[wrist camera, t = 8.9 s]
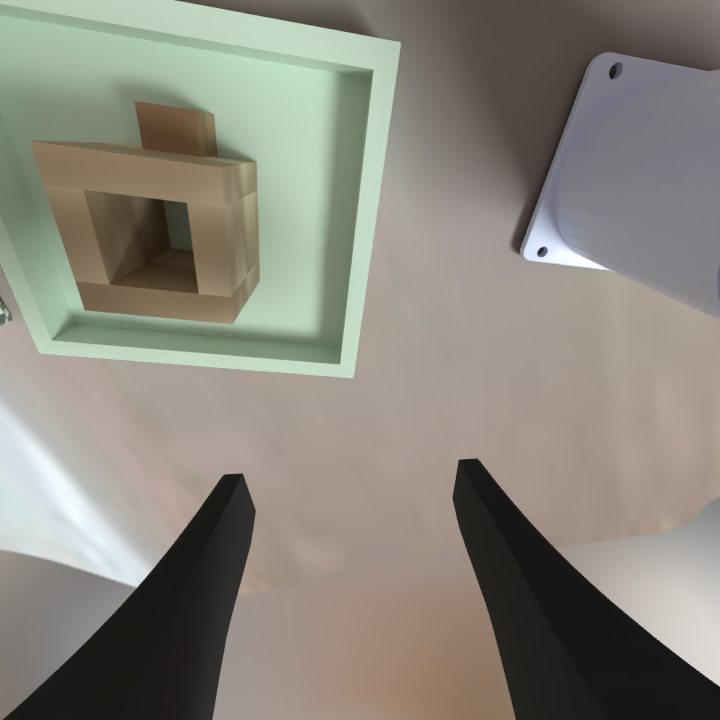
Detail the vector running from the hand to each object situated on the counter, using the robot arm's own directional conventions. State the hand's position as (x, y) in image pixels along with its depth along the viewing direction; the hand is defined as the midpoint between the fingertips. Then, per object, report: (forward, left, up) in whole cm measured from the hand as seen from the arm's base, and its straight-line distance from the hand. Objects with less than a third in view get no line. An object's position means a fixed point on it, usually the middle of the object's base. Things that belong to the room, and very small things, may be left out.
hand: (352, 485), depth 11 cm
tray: (+8, -6, -10) cm, 14 cm away
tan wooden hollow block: (+8, -6, -9) cm, 13 cm away
